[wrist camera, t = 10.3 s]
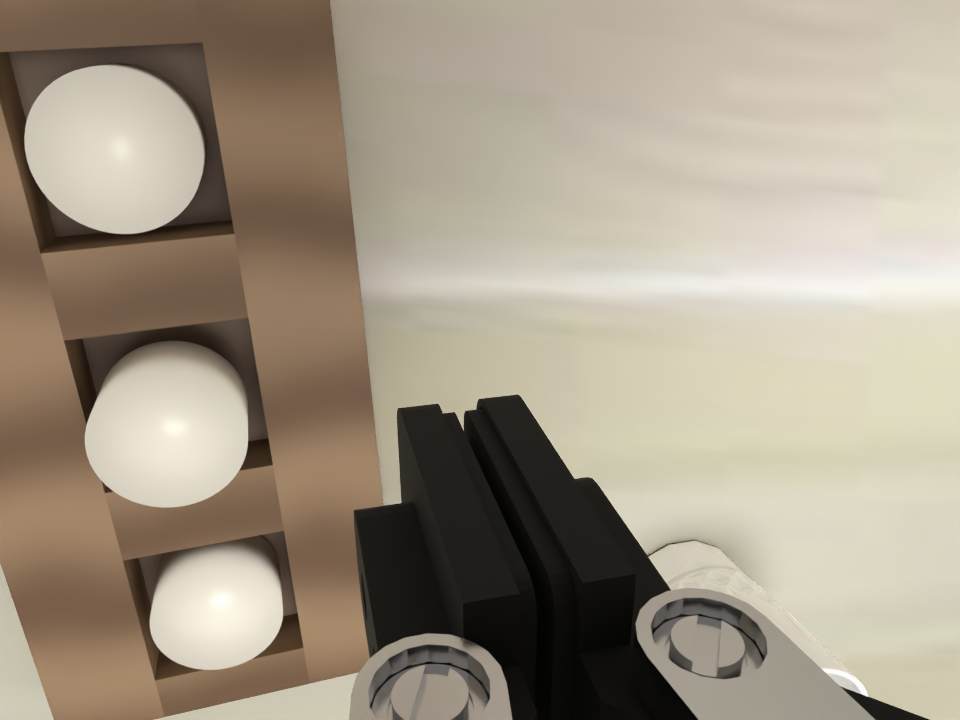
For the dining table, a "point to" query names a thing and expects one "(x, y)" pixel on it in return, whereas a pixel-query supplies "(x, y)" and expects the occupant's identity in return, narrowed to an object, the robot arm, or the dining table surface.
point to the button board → (190, 318)
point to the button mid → (169, 425)
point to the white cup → (743, 598)
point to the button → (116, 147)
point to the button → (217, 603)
